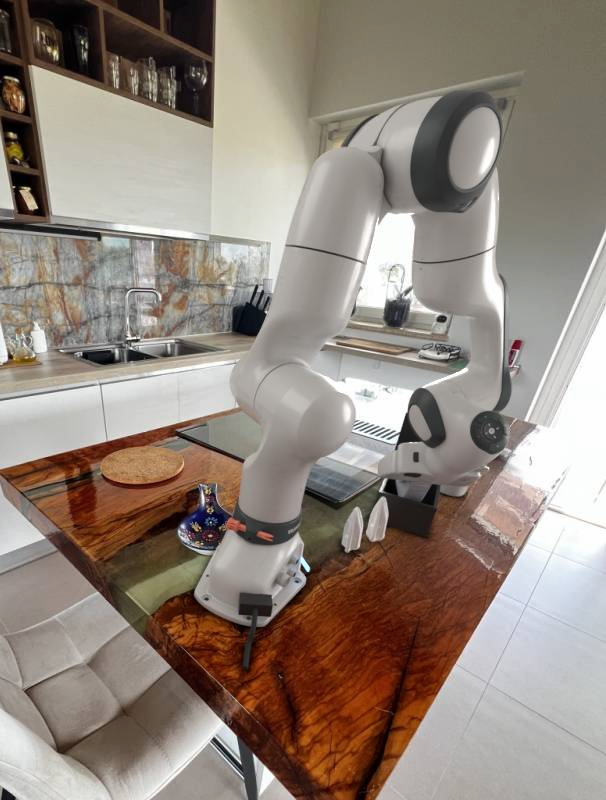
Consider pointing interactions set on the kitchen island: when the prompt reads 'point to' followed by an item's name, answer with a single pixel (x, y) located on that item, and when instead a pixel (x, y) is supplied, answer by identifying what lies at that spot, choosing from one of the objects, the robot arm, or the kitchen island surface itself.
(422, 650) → the kitchen island surface
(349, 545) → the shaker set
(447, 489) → the ramekin
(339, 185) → the robot arm
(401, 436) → the black box lid
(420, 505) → the black open box
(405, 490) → the medicine box
